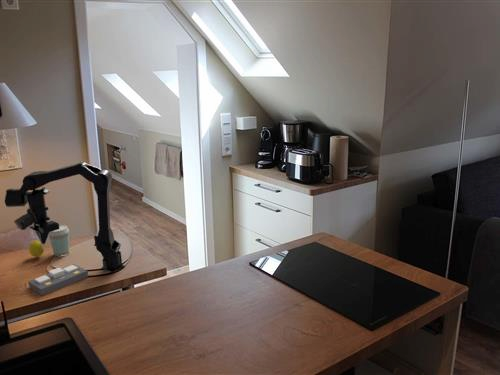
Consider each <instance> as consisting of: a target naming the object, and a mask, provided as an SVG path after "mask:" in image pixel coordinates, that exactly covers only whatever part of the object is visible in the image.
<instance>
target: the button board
mask: <svg viewBox="0 0 500 375" xmlns="http://www.w3.org/2000/svg"><path fill="white" fill-rule="evenodd" d="M71 265H74V266H76V267H78V270H77V271H74V272H71V273H69V274H68V273H66V272H65V275H64V276H61V277H59V278H56V279H54V278H52V277H50V276H49V273H46V274H44V275H46V276H48V277H49V278H51V281H48V282H46V283H43V284H40V285H39V284H37V283H36V282H35V279H36V278H39V277H40V276H38V277H35V278H32V279H31V280H28V287H29V289H31V290H33V291H34V292H36V293H37V294H39V295H40V296H44V295H47V294H49V293H52V292H54V291H57V290H59V289H62V288H65V287H66V286H70V285H72V284H74V283H76V282H79V281H81V280H84V279H86V278H88V277H89V272H88V270H86V269H85V268H83V267H81V266H79V265H77V264H75V263H72V264H71ZM71 265H67V266H64V267H62V268H61V269H63V268H66V267H68V266H71ZM44 275H42V276H44Z"/></svg>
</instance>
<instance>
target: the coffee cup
mask: <svg viewBox="0 0 500 375" xmlns="http://www.w3.org/2000/svg"><path fill="white" fill-rule="evenodd" d="M59 228H60V229H58V230H55V231H51V232H49V234H48V238H49V241H50V244H51V248H52V251H53V255H54V257H56V256H61V255H65V254H68V253H70V244H69V243H70V241H69V238H70V237H69V232H70V229H69V228H68V226H67V225H65V224H64V225H63V224H62V225H60V224H59ZM68 255H69V254H68Z"/></svg>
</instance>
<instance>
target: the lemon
mask: <svg viewBox="0 0 500 375" xmlns="http://www.w3.org/2000/svg"><path fill="white" fill-rule="evenodd" d="M28 250H29V254H30V255H31V256H32V257H36V258H40V257H41V256H42V255H43V253H44V250H45V247H44V244H41V242H40V240H36V239H34V240H32V241H31V243H30V244H29V247H28Z"/></svg>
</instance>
